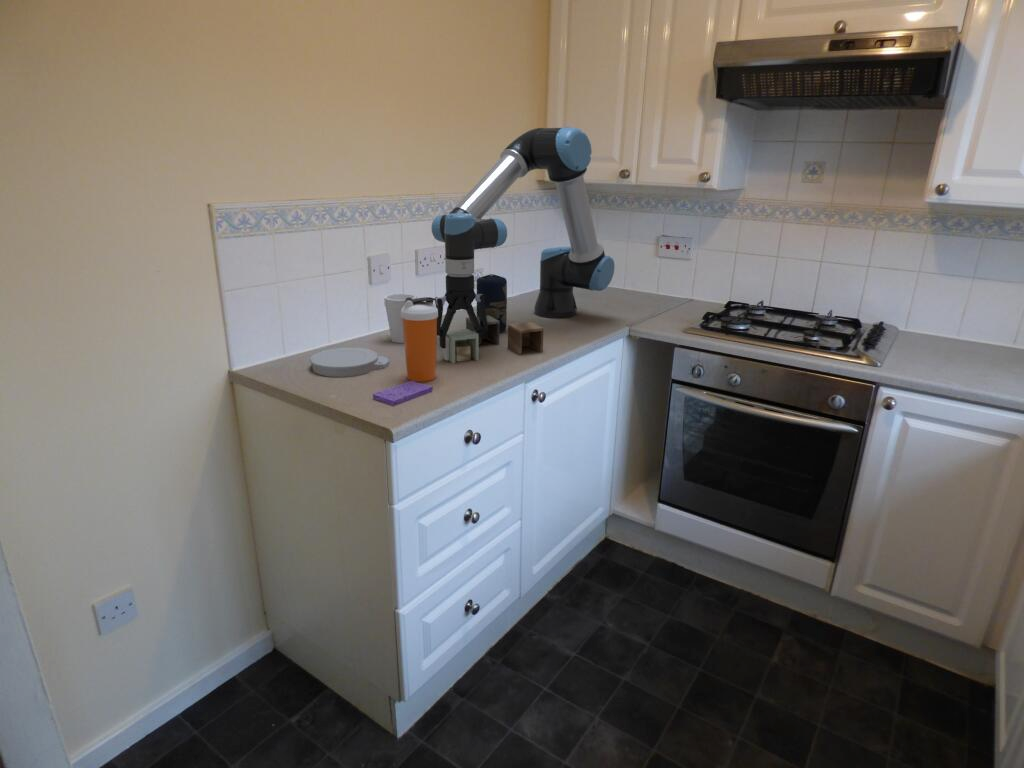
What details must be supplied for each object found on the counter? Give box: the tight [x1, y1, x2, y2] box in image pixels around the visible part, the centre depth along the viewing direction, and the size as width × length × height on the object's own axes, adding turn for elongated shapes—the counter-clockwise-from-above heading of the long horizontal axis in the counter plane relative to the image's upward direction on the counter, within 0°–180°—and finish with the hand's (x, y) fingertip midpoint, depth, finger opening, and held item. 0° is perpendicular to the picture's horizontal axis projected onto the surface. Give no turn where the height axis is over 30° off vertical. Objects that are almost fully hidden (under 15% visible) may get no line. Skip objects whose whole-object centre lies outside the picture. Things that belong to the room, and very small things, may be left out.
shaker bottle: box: [401, 296, 438, 383], centre depth 158 cm, size 9×9×20 cm
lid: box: [309, 347, 390, 378], centre depth 169 cm, size 17×20×3 cm
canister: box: [476, 273, 508, 333], centre depth 202 cm, size 10×10×18 cm
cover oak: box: [465, 316, 501, 345], centre depth 191 cm, size 8×8×7 cm
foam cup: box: [383, 293, 418, 344], centre depth 192 cm, size 10×9×13 cm
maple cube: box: [455, 342, 472, 362], centre depth 176 cm, size 4×4×4 cm
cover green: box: [446, 328, 480, 365], centre depth 176 cm, size 8×8×7 cm
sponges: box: [372, 380, 434, 406], centre depth 150 cm, size 7×13×2 cm, turn 143°
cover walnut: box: [507, 321, 544, 356], centre depth 185 cm, size 8×8×7 cm
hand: (460, 357), depth 177 cm, fingers open, 8 cm apart
